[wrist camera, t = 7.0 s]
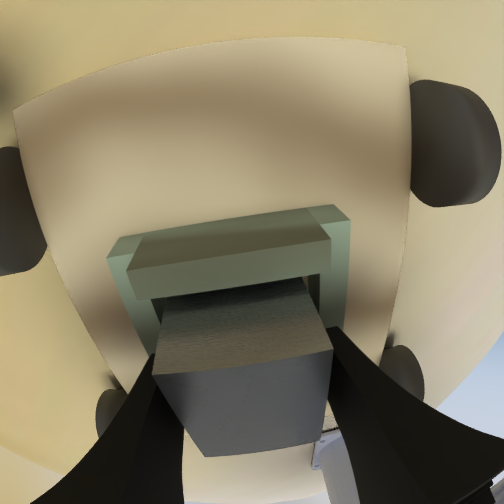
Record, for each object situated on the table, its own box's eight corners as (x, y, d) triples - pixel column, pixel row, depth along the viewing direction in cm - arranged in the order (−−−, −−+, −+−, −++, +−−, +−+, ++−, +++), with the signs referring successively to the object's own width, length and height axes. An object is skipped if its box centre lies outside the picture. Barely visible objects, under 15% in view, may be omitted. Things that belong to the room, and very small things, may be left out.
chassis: (380, 385, 18) (403, 434, 14) (141, 422, 17) (135, 475, 13) (419, 56, 8) (497, 51, 4) (4, 121, 8) (-70, 142, 4)
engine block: (292, 344, 13) (320, 440, 8) (204, 357, 13) (204, 457, 8) (287, 245, 10) (333, 348, 6) (174, 262, 10) (151, 374, 6)
